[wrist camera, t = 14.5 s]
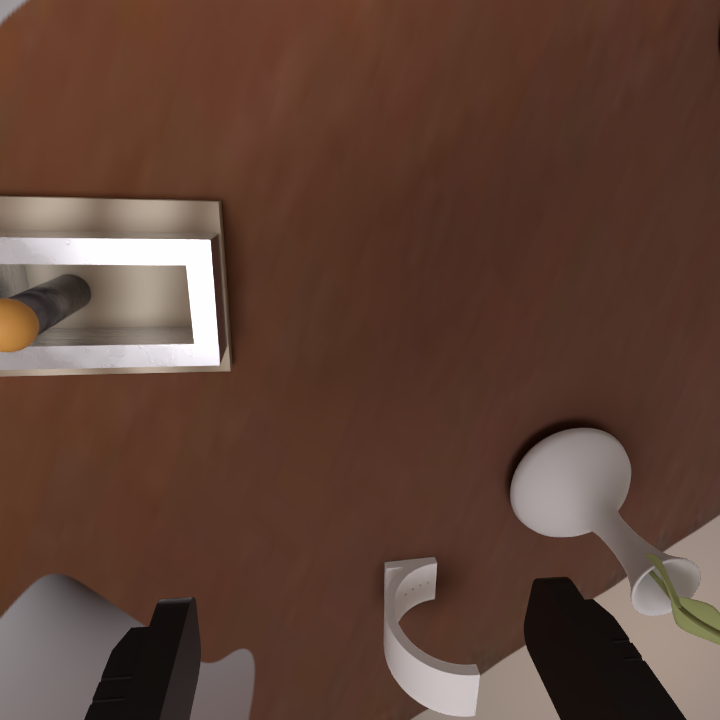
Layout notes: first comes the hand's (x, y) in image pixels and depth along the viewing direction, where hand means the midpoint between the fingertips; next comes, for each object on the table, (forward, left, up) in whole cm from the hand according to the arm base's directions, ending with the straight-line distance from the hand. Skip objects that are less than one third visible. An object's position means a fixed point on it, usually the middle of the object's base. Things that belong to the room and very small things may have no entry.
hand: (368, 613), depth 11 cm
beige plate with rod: (+14, -2, -27) cm, 31 cm away
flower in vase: (-23, +15, -28) cm, 39 cm away
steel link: (+13, -2, -26) cm, 29 cm away
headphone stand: (-9, +27, -28) cm, 39 cm away
